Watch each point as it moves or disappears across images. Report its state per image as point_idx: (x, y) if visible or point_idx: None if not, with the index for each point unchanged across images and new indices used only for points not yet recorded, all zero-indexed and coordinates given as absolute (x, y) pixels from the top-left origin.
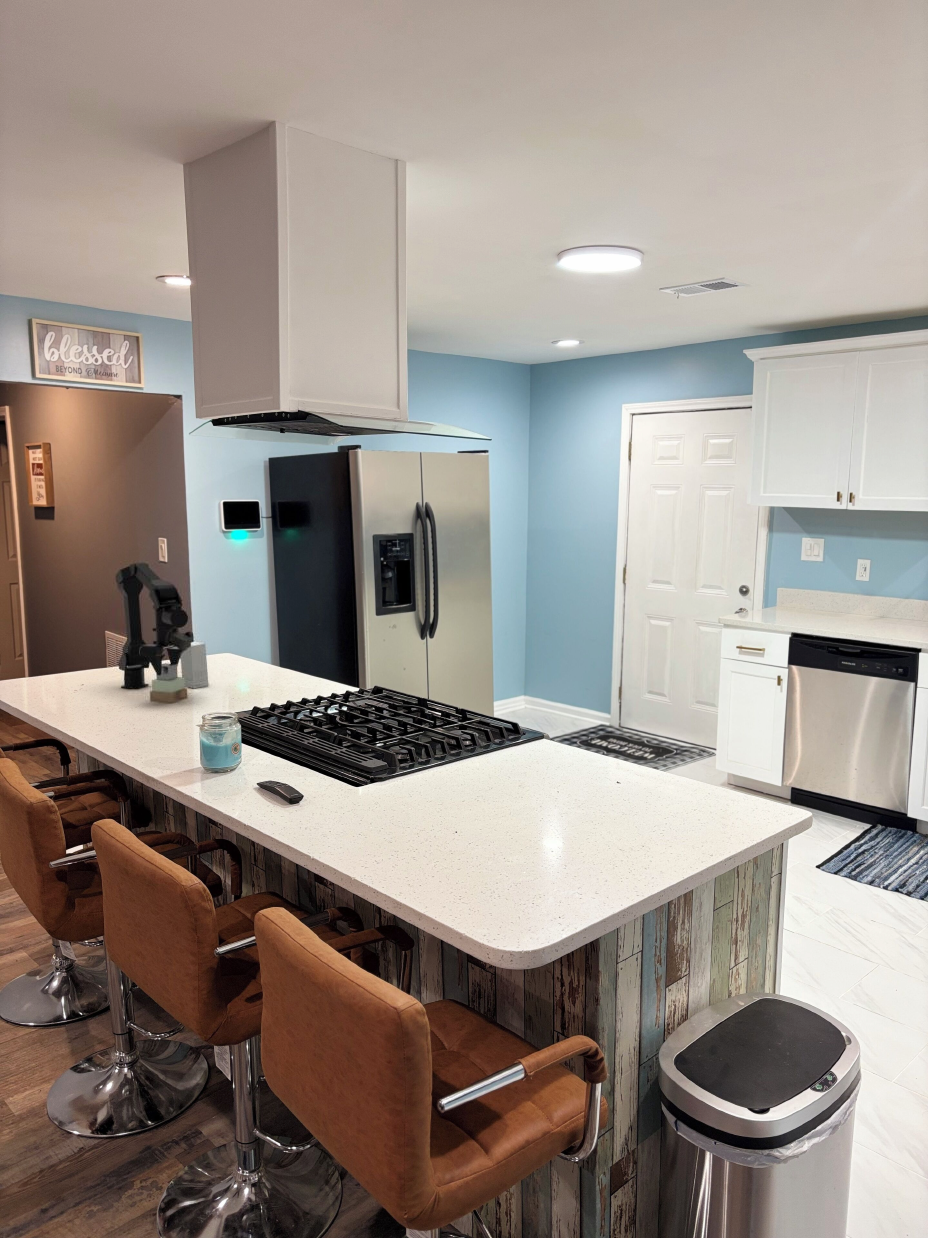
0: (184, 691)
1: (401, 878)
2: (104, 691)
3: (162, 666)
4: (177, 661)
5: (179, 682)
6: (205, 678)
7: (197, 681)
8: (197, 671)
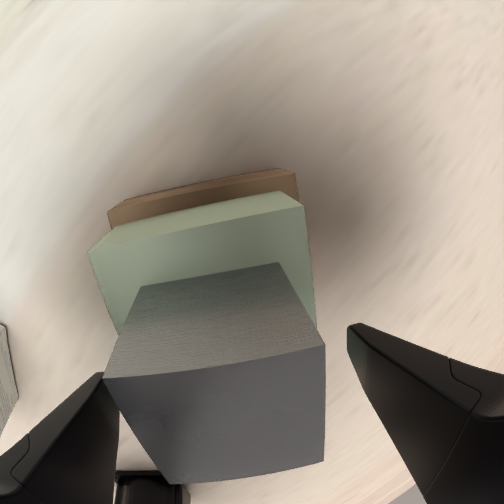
0: (141, 200)
1: None
2: (248, 495)
3: (324, 409)
4: (55, 430)
5: (167, 226)
6: None
7: None
8: None
